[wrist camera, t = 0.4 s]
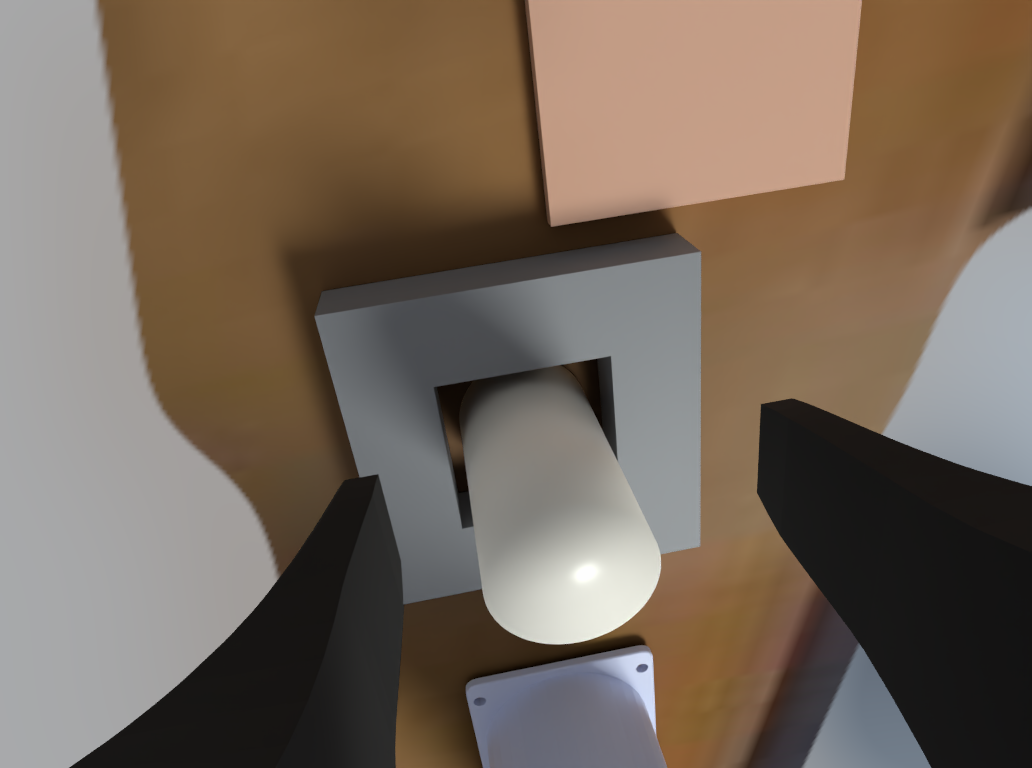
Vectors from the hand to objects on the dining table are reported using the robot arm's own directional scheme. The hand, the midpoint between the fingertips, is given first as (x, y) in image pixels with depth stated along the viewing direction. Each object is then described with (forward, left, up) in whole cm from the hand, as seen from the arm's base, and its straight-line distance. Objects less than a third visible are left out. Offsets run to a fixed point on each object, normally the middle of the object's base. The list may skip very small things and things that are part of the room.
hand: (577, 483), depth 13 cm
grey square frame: (-4, 0, -10) cm, 11 cm away
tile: (+7, -6, -10) cm, 13 cm away
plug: (-4, 0, -10) cm, 11 cm away
